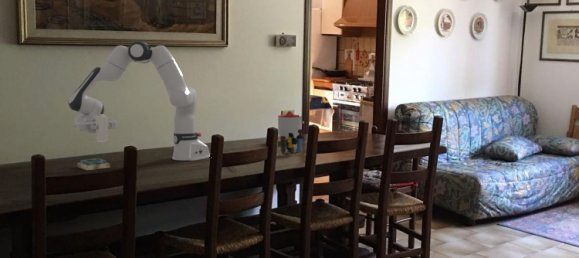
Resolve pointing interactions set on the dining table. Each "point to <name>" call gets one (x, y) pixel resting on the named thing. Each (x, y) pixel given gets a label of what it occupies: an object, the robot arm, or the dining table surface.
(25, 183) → the dining table surface
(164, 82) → the robot arm
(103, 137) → the cream pillar
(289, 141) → the doll family
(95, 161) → the birch base board
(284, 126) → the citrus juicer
